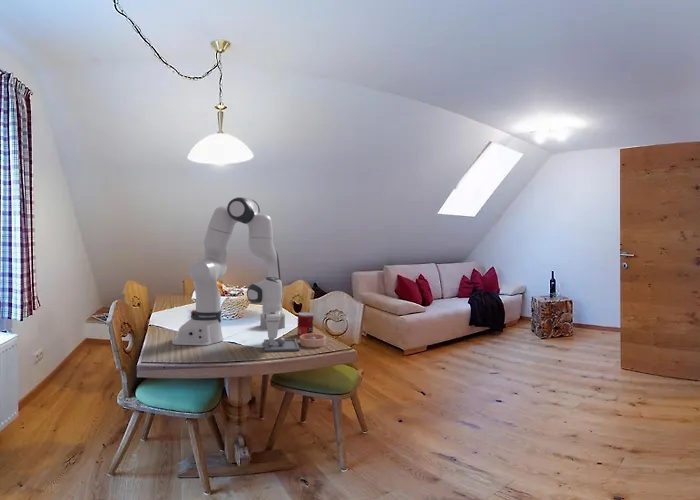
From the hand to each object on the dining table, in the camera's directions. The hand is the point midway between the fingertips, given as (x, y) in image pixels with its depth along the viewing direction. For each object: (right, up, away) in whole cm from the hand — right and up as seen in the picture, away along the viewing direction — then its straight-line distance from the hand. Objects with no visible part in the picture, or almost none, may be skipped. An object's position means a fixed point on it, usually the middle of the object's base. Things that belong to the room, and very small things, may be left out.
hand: (271, 343), depth 189 cm
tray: (+4, -2, +1) cm, 5 cm away
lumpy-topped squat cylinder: (-6, 0, +38) cm, 39 cm away
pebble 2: (+4, +1, +1) cm, 5 cm away
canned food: (+13, -1, +23) cm, 27 cm away
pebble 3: (+19, 0, +5) cm, 19 cm away
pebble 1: (0, +1, 0) cm, 1 cm away
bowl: (+18, -2, +7) cm, 20 cm away
